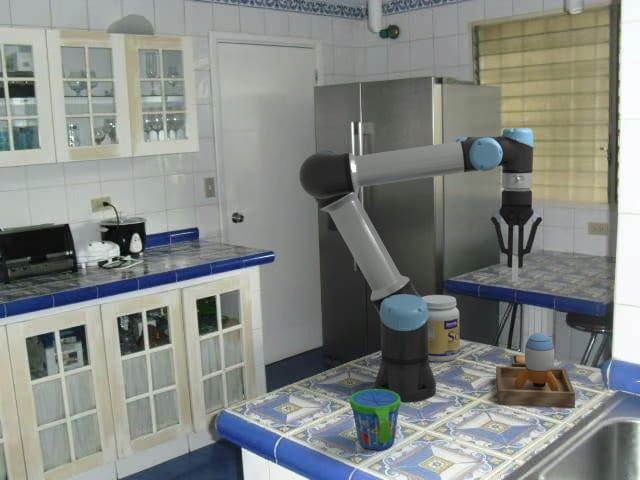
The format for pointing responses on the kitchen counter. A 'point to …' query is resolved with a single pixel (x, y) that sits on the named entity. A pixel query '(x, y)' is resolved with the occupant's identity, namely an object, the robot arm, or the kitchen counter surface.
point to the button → (520, 359)
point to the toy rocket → (538, 363)
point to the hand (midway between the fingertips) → (514, 279)
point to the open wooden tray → (533, 390)
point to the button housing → (513, 362)
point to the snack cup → (375, 417)
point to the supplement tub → (442, 328)
